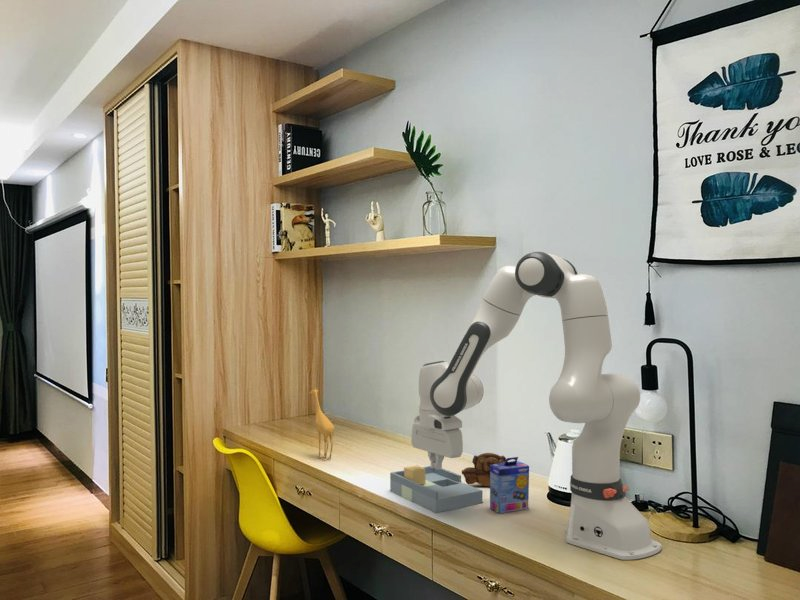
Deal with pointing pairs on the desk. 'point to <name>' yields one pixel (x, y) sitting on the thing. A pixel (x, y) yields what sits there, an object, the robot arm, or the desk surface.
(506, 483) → the ink cartridge box
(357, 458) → the desk surface
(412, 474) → the block
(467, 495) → the tray
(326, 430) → the giraffe
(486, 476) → the wooden carving
